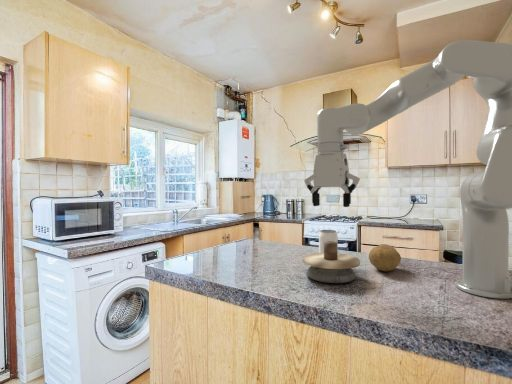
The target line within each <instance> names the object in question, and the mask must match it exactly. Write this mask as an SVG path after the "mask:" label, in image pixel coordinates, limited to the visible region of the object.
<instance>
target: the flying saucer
mask: <svg viewBox="0 0 512 384" xmlns="http://www.w3.org/2000/svg"><path fill="white" fill-rule="evenodd" d="M305 275H306V276H307V277H308V278H310V279H312V280H314V281H317V282H321V283H327V284H344V283H349V282H352V281H354V280H355V279H356V278H357V274H356V272H355V271H354V270H353V268H350V269H325V268H318V267H313V266H309V267H308V268H307V269H306V272H305Z"/></svg>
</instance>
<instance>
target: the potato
mask: <svg viewBox="0 0 512 384" xmlns="http://www.w3.org/2000/svg"><path fill="white" fill-rule="evenodd" d="M368 260H369V262H370V264H371V265H372V266H373V267H374V268H376V269H377V270H378V271H382V272H390V271H393V270H395V269H396V268H397V267H398V266H399V265H400V263H401V261H402V257H401V254H400V253H399V251H398V250H397V249H396V248H394V247H393V246H392V245H389V244H385V243H384V244H383V243H382V244H381V243H380V244H379V245H376V246H375V247H372V249H371V250H370V251H369V253H368Z"/></svg>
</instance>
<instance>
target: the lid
mask: <svg viewBox="0 0 512 384" xmlns="http://www.w3.org/2000/svg"><path fill="white" fill-rule="evenodd" d="M302 262H303V263H304V264H305V265H306V266H307V265H308V266H309V267H311V266H313V267H318V268H325V269H350V268H351V269H353V268H357V267H359V266H360V265H361V259H359V258H358V257H356V256H353V255H350V254H346V253H345V254H343V253H337V242H333V241H326V242H324V253H319V252H314V253H308V254H305V255H304V256H302Z"/></svg>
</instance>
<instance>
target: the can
mask: <svg viewBox="0 0 512 384" xmlns="http://www.w3.org/2000/svg"><path fill="white" fill-rule="evenodd" d="M338 238H339V237H338V233H337V231H336V230H333V229H321V230H320V231H319V235H318V253H324V242H326V241H333V242H337V253H338V252H339V251H338V250H339V249H338V248H339V247H338V246H339V244H338Z"/></svg>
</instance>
